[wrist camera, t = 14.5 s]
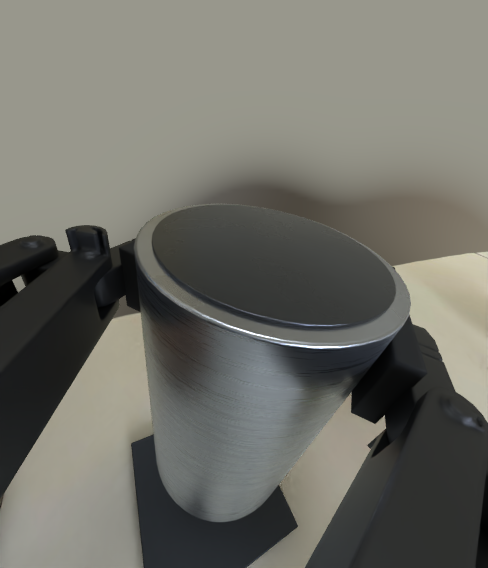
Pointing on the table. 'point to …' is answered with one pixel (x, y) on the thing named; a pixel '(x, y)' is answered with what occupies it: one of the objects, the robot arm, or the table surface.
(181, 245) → the silver cylinder
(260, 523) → the mat
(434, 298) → the table surface
